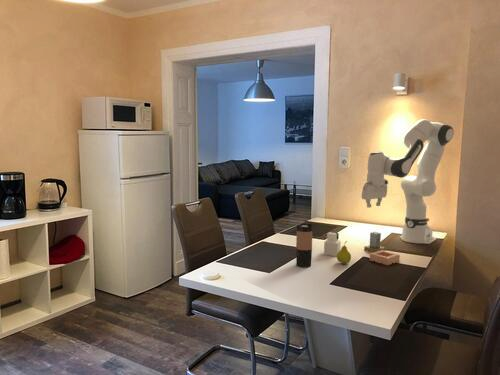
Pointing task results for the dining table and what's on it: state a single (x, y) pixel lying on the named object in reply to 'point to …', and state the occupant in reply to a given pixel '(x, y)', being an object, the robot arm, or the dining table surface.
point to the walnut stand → (373, 249)
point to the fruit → (343, 255)
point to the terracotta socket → (384, 257)
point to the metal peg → (375, 239)
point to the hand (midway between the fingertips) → (373, 206)
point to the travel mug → (304, 245)
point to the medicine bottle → (332, 244)
